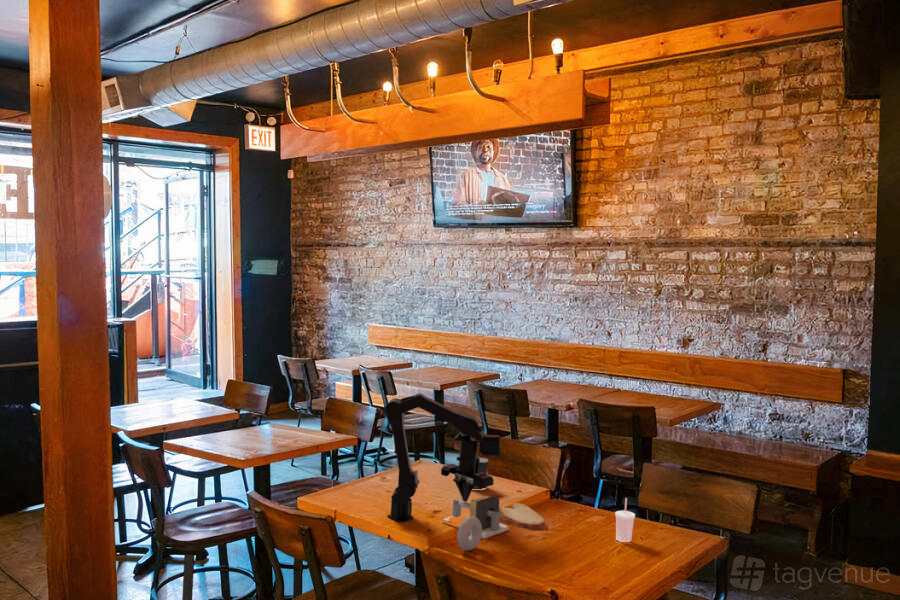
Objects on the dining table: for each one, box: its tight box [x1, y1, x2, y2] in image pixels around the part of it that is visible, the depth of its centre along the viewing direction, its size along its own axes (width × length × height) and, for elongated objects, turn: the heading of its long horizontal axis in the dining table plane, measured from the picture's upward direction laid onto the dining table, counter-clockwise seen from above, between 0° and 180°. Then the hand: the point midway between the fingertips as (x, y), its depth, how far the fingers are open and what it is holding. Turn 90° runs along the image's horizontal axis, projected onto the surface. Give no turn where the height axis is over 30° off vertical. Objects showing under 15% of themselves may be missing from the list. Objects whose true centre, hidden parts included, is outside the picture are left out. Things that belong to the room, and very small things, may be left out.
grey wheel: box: [456, 516, 482, 552], centre depth 226 cm, size 10×4×10 cm, turn 141°
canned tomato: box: [470, 456, 489, 489], centre depth 288 cm, size 8×8×11 cm
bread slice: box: [499, 502, 547, 531], centre depth 256 cm, size 18×18×4 cm
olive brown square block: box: [469, 495, 489, 517], centre depth 245 cm, size 7×3×7 cm, turn 137°
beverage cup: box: [614, 497, 636, 542], centre depth 239 cm, size 6×6×14 cm
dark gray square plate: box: [476, 495, 500, 529], centre depth 243 cm, size 8×2×8 cm, turn 137°
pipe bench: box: [442, 497, 510, 539], centre depth 246 cm, size 12×18×7 cm, turn 47°
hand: (465, 501), depth 249 cm, fingers closed
